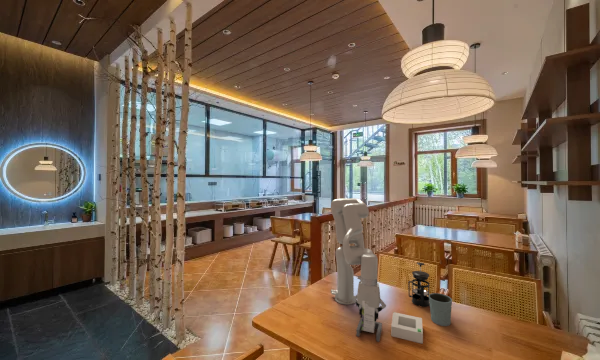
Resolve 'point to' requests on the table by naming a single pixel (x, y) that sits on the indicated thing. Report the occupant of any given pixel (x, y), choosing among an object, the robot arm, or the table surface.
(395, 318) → the port
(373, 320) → the syrup box
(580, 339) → the table surface
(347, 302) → the robot arm
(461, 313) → the table surface
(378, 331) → the grey u-shaped bracket
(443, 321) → the grey embossed plant pot
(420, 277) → the french press
